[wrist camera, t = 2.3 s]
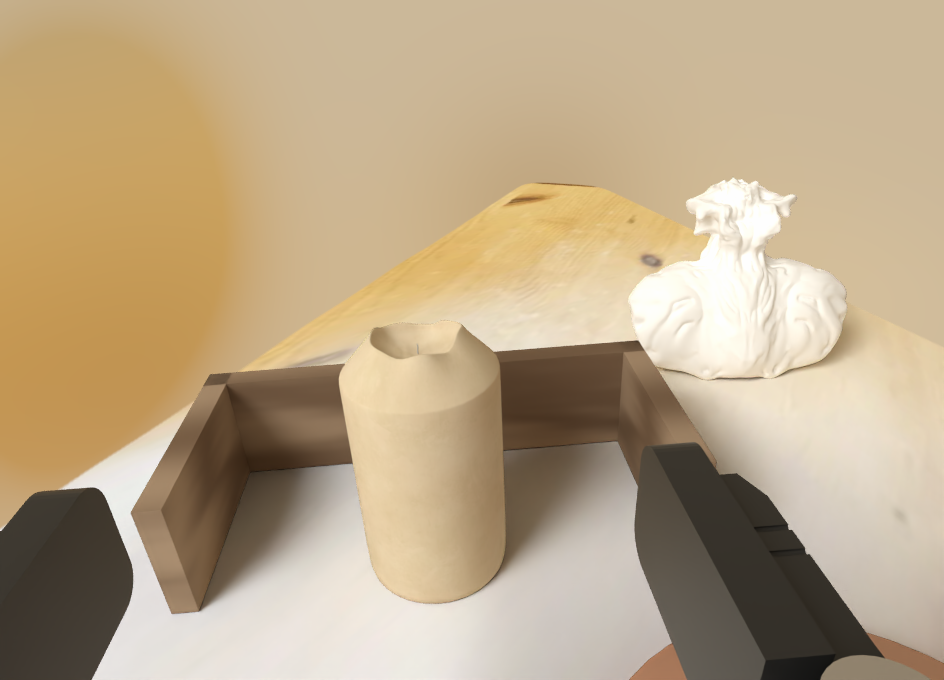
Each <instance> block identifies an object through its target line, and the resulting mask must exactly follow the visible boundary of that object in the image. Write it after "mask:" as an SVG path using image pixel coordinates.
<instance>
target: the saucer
mask: <svg viewBox="0 0 944 680" xmlns="http://www.w3.org/2000/svg"><path fill="white" fill-rule="evenodd" d="M867 635H868V636H869V637H870V639H871V640H872V641H873V643H874V644H875V646H876V647H877V648H878V650H879V651H880V652H881V653H882V655H883V656H884V657H885V658H886V659H889V660H892V661H895V662H898V663H901V664H903V665H906V666H908V667H910V668H912V669H914V670H916V671H918V672H920V673H921V674H923V675H925V676H926V677H928V678H930V679H931V680H944V663H942V662H940V661H938V660H936V659H934V658H932V657H930V656H928V655H925V654H923V653H920V652H918V651H916V650H913V649H911V648H908V647H906V646H903V645H901V644H898V643H896V642H894V641H891V640H888V639H885V638H881V637H878V636H875V635H872V634H869V633H867ZM629 680H687V679H686V676H685V674H684V671H683V669H682V666H681V664H680V661H679V659H678V656H677V654H676V651H675V649H674V646H673V644H670V645H668V646H667V647H665V648H664V649H663V650H661V651H660V652H659V653H657V654H656V655H655V656H653V657H652V658H650V659H649V660H648V661H647V662H646V663H645V664H644V665H643V666H642V667H641V668H640V669H639V670H638V671H637V672H636V673H635V674H634V675H633V676H632V677H631V678H630V679H629Z"/></svg>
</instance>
